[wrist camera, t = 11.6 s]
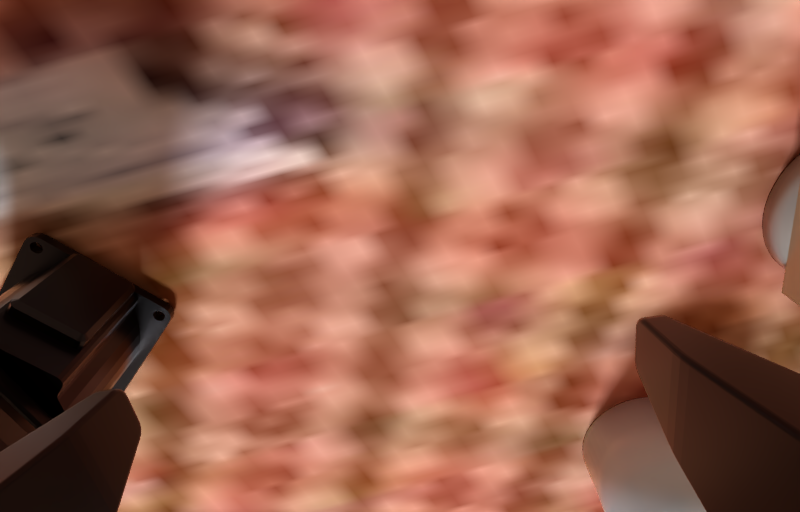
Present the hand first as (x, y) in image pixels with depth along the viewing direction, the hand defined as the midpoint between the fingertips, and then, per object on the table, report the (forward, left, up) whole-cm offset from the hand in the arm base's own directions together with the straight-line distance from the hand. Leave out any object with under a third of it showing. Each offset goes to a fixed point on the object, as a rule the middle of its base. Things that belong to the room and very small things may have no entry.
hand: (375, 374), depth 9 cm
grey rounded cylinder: (-4, -19, -13) cm, 23 cm away
